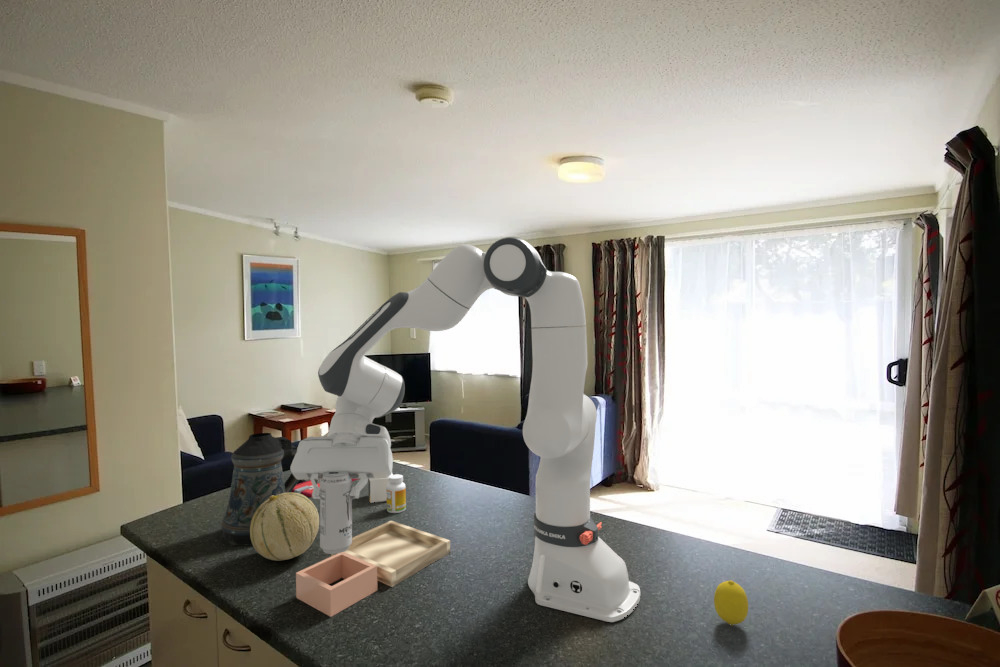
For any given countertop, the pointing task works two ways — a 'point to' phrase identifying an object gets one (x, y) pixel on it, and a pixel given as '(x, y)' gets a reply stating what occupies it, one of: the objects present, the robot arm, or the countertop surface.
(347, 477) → the energy drink can
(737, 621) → the lemon
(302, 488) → the red board with handle
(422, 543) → the tray
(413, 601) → the countertop surface
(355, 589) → the frame
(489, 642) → the countertop surface
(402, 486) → the supplement bottle
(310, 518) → the cantaloupe
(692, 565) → the countertop surface
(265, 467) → the beer stein
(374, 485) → the white upright blocky piece
